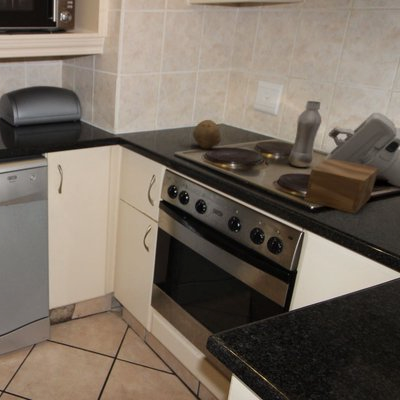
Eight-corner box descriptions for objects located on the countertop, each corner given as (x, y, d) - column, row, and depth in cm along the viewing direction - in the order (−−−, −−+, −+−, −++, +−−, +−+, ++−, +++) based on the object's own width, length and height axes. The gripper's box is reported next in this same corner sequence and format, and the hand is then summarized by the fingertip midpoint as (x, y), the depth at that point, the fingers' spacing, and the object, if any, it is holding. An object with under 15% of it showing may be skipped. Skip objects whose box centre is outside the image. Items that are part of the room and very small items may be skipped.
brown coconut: (187, 144, 171) (190, 117, 167) (210, 144, 171) (215, 116, 168) (197, 152, 162) (201, 123, 158) (222, 151, 163) (227, 122, 159)
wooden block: (321, 187, 132) (329, 157, 129) (369, 199, 125) (378, 168, 122) (303, 200, 124) (311, 168, 120) (354, 213, 116) (364, 180, 113)
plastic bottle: (314, 167, 149) (330, 103, 141) (303, 170, 145) (318, 105, 138) (294, 161, 154) (309, 99, 146) (283, 165, 150) (297, 101, 143)
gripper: (348, 174, 145) (307, 149, 146) (406, 125, 129) (360, 98, 131) (347, 185, 140) (305, 160, 142) (407, 136, 125) (359, 109, 127)
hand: (332, 130), depth 137 cm, fingers closed
